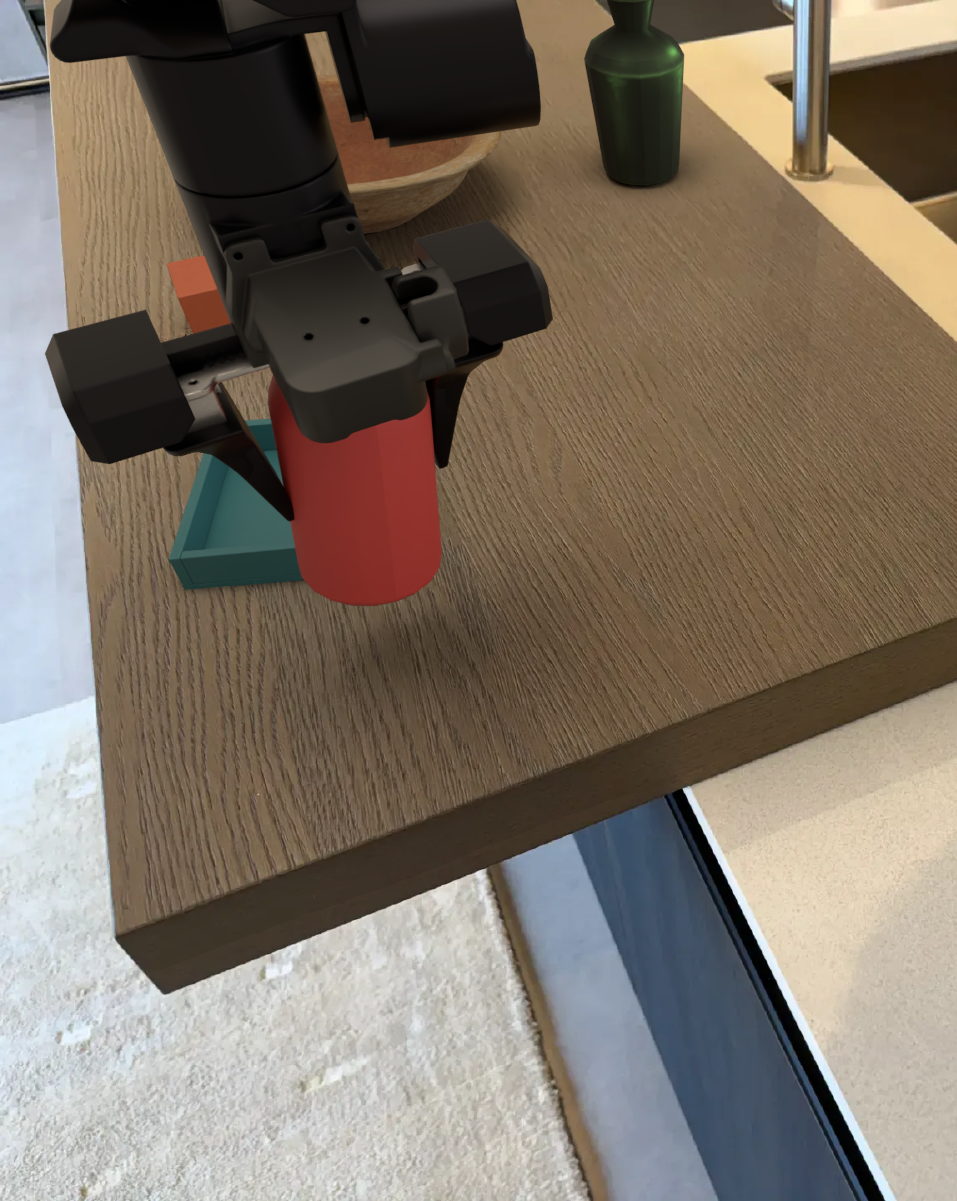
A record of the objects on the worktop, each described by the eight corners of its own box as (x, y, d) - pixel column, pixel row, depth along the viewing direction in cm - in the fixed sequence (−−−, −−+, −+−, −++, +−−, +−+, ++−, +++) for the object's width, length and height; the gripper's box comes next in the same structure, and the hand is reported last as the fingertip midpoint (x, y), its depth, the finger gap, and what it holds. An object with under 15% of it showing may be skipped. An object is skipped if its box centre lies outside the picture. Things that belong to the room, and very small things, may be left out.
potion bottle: (706, 177, 98) (700, -53, 85) (622, 199, 95) (604, -36, 82) (659, 141, 103) (647, -82, 90) (578, 161, 99) (554, -68, 87)
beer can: (393, 631, 53) (366, 416, 45) (270, 585, 54) (222, 366, 46) (468, 550, 58) (456, 343, 50) (354, 510, 59) (324, 300, 51)
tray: (185, 592, 63) (167, 559, 61) (227, 454, 71) (212, 422, 69) (411, 570, 64) (401, 537, 62) (426, 437, 73) (417, 406, 71)
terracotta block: (204, 361, 78) (177, 297, 74) (193, 326, 81) (166, 262, 77) (280, 342, 80) (256, 279, 76) (265, 308, 83) (242, 245, 79)
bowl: (549, 250, 90) (536, 152, 84) (231, 316, 82) (193, 212, 76) (466, 130, 104) (450, 39, 98) (189, 177, 96) (154, 80, 90)
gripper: (3, 341, 33) (198, 684, 44) (585, 188, 40) (626, 516, 52) (-41, 189, 40) (139, 522, 51) (468, 81, 47) (527, 393, 58)
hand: (366, 489), depth 53 cm, fingers closed on beer can, 7 cm apart
